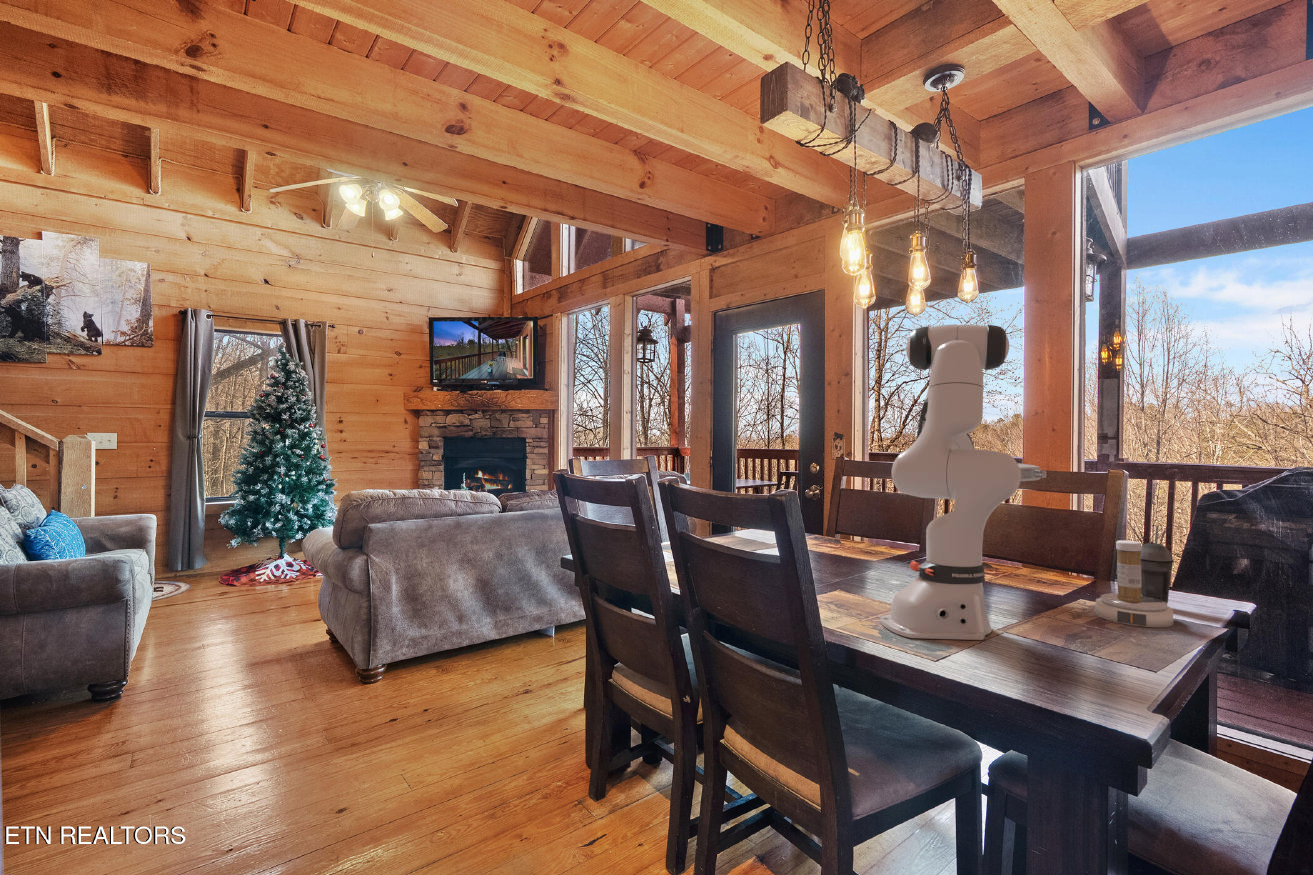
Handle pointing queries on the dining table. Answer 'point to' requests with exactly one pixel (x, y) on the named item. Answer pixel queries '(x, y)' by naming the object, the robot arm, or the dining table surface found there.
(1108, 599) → the scale pan
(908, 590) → the robot arm
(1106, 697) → the dining table surface
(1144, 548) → the beverage cup
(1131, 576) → the sprinkles bottle
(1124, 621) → the scale base
